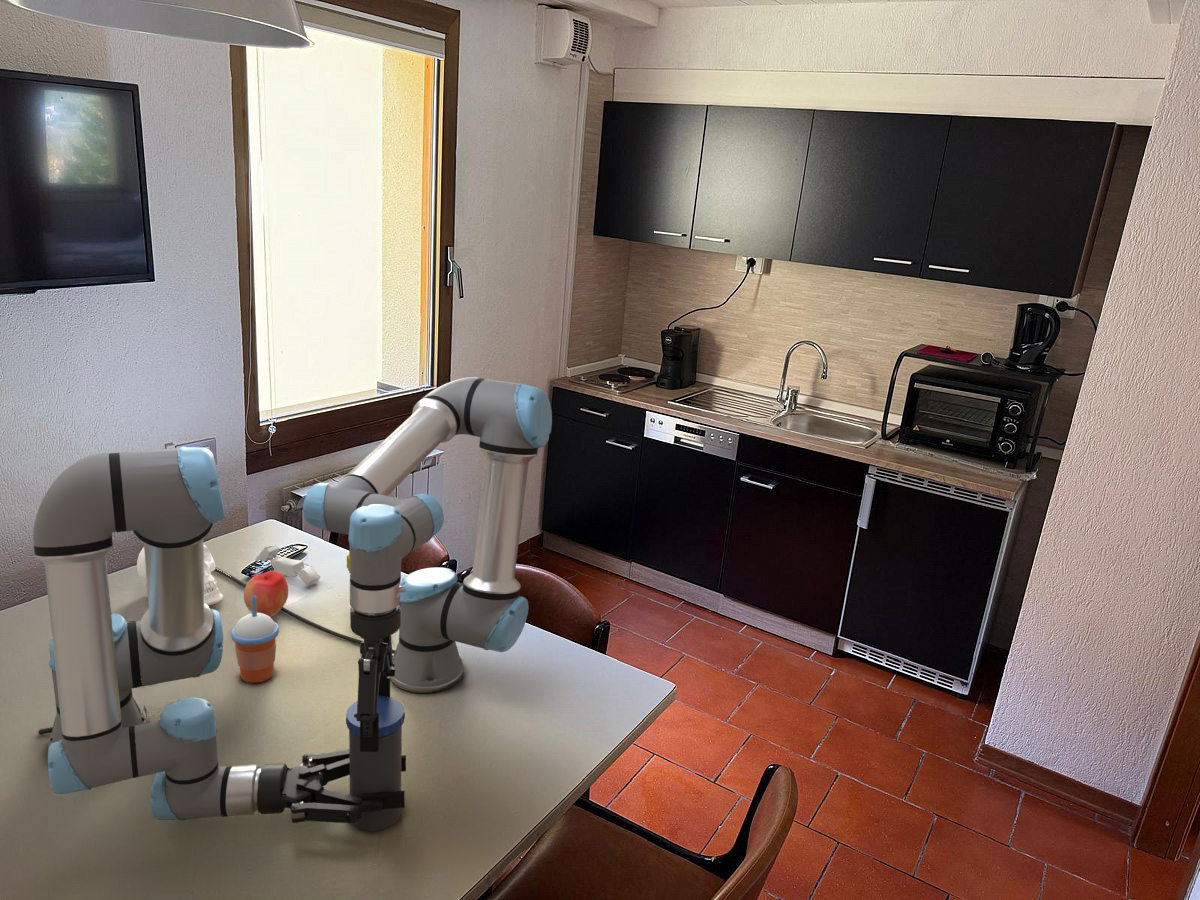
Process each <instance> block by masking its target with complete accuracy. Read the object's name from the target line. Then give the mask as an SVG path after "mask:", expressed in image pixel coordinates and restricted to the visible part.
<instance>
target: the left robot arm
mask: <svg viewBox="0 0 1200 900" xmlns="http://www.w3.org/2000/svg"><path fill="white" fill-rule="evenodd" d="M218 474H219V473H218V470H217V464H216V460H215V456H214V453H213V452H212V450H211V449H209V448H206V447H204V446H203V447H202V446H199V447H198V446H197V447H196V446H195V447H193V446H192V447H191V446H190V447H188V446H179V447H173V448H160V449H147V450H134V451H133V450H132V451H122V452H121V451H120V452H102V453H101V452H100V453H94V454H91V455H87V456H85V457H83V458H81V459H79V460H77V461H75V462H73V464H70V465H69V466H68V467H66V468H65V469H64V470H63V471H62V472H61V473H60V474H59V475H58V476H57V477H56V479H54V481H53V482H52V483H51V485H50V486H49V488H48V490H46V492H45V494H44V496H43V498H42V500H41V502H40V504H39V507H38V510H37V513H36V516H35V520H34V524H33V530H32V531H33V532H32V535H33V536H32V542H33V552H34V558H36V559H37V560H39V561H40V562H42V563H43V565H44V572H45V573H44V574H45V581H46V582H45V583H46V591H47V592H46V593H47V600H48V611H49V619H50V630H51V631H50V632H51V640H50V642H49V646H48V647H49V648H48V649H49V661H48V666H49V668H50V670H51V676H52V684H53V693H54V701H55V710H56V714H55V717H54V721H53V724H52V726H50V727H46V728H41V729H38V735H46V734H50V736H49V738H48V744H47V745H48V749H47V764H48V765H47V766H48V781H49V786H50V789H51V790H52V792H53V793H55V794H57V795H64V794H70V793H71V794H72V793H76V792H82V791H91V790H92V789H93V788H99V787H101V786H107V785H110V784H114V783H119V782H122V781H127V780H130V779H136V778H141V777H145V776H151V775H154V774H156V775H155V776H154V778H153V780H152V783H151V788H150V800H149V809H150V813H151V815H152V817H153V818H154V819H155V820H158V821H179V822H182V821H183V822H184V821H189V820H190V821H191V820H199V819H209V818H219V817H223V818H224V817H227V818H228V817H235V816H238V817H239V816H253V815H255V814H256V813H257V812H258V814H260V815H261V816H262V815H277V814H282V813H283V812H284V811H285V810H286V809H290V817H291V818H290V819H291V823H293V824H295V823H296V824H297V823H303V822H319V823H320V822H321V823H337V824H353V823H355V822H356V819H360V818H361V817H362V812H372V811H381V810H382V809H394V808H401V809H405V793H406V792H405V790H401V791H390V792H374V793H363V795H362V799H361V798H360V797H356V796H352V795H350V794H347V793H343V792H339V791H335V790H330V789H327V788H324V787H325V786H326V785H327V784H328V783H330V782H332V781H335V780H339V779H341V778H344V777H348V776H350V759H349V749H341V750H335V751H330V752H324V753H318V754H315V753H304V754H303V755H302V756H301V764H300V765H299V766H295V767H292V768H291V767H288V765H287V764H286V763H283V762H282V763H281V762H279V763H266V764H264V765H262V766H260V765H259V764H258V763H256V764H255V763H253V764H241V765H239V764H238V765H230V766H229V765H224V766H223V765H222V766H219V747H218V727H217V721H216V713H215V708H214V706H213V705H212V703H211V702H210V701H208V700H207V699H204V698H202V697H193V696H192V697H191V696H190V697H183V698H180V699H177V700H176V702H170V703H169V704H167V705H166V706H165V707H164V708H163V710H162V711H161V713H160V718H159V720H155V721H150V722H148V721H147V718H146V717H148V711H147V708H146V705H145V703H144V702H143V703H142V704H143V711H144V713H145V715H144V713H142V711H141V708H140V706H139V705H138V702H137V701H136V700H135V697H134V696H133V695H134V694H133V689H137V688H142V687H146V686H152V685H153V686H154V685H158V684H163V683H170V682H174V681H180V680H185V679H192V678H193V679H195V678H200V677H201V676H203V675H204V676H205V675H208V674H211V673H214V672H215V671H216V670H218V668H219V667H220V665H221V663H222V660H223V659H222V658H223V649H224V647H223V643H224V642H223V641H224V633H223V632H224V630H223V623H222V622H223V621H222V618H221V614H220V612H219V611H218V610H216V609H214V608H211V607H210V605H209V606H208V605H207V604H206V603H204V594H205V593H204V591H205V589H204V545H205V543H204V541H205V540H204V539H205V538H206V537H208V535H209V534H210V532H212V529H213V528H214V527H213V526H214V524H216V523H218V522H220V521H223V520H224V519H225V518H226V512H225V506H224V501H223V496H222V490H221V486H220V479H219V475H218ZM124 532H132V533H133V535H134V536H135V537H136V539H137V540H138V541H140V542H141V543H142V544H143V547H144V552H145V565H146V578H147V587H146V589H147V602H148V608H147V609H146V611H145V612H144V613H143V615H142V617H141V619H140V620H134V621H127V620H126V619H125V617H124V616H122V615H121V614H118V613H115V612H114V613H112V608H111V606H112V605H111V597H110V595H111V594H110V586H109V585H110V584H109V577H108V575H109V574H108V564H107V563H108V562H107V554H108V553H109V552H110V551H111V550H112V549H113V547H114V543H113V542H114V541H113V533H124ZM138 648H139V649H138ZM139 659H140V660H139ZM145 716H146V717H145ZM402 772H403V773H404V772H407V755H406V754H401V773H402Z"/></svg>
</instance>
